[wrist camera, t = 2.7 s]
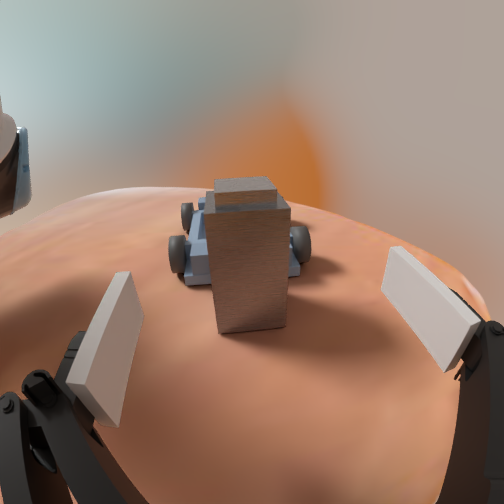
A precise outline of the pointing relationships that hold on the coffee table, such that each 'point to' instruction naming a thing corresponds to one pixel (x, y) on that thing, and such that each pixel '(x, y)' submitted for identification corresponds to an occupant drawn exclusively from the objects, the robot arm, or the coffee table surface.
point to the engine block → (248, 253)
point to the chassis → (196, 255)
